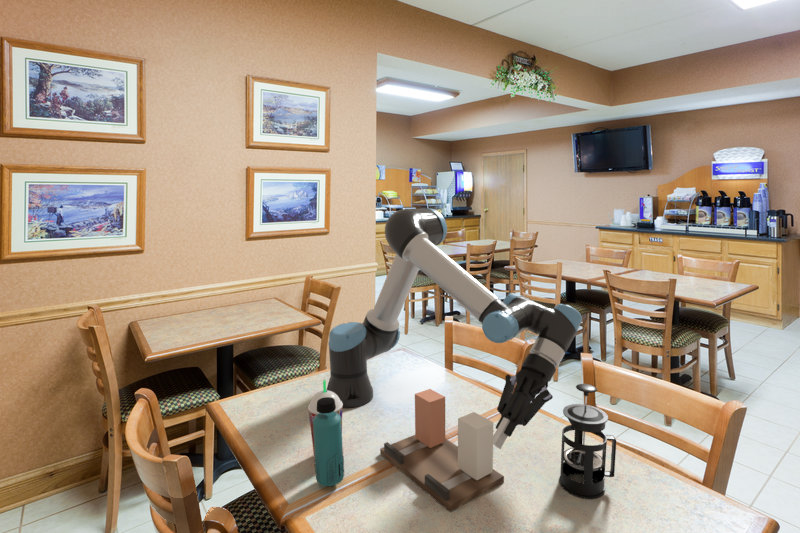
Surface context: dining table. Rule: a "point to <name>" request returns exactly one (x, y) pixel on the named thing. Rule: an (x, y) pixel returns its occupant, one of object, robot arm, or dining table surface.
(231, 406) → the dining table surface
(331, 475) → the beverage bottle
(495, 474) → the board
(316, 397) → the smoothie
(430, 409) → the key
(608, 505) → the dining table surface
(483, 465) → the key
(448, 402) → the dining table surface
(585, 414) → the french press
